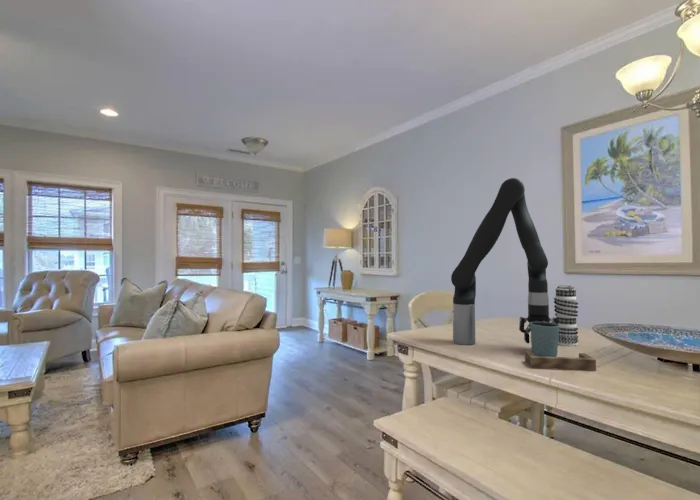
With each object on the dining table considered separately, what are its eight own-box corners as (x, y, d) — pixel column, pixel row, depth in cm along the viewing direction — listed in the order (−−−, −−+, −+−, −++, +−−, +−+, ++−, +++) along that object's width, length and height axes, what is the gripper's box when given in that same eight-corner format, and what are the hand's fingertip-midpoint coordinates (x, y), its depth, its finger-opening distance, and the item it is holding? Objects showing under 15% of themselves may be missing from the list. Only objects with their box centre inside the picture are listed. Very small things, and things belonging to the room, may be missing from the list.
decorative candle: (550, 340, 164) (549, 284, 165) (571, 340, 164) (570, 284, 164) (561, 346, 155) (560, 286, 156) (583, 345, 155) (582, 286, 155)
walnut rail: (531, 367, 127) (531, 357, 127) (525, 361, 135) (524, 351, 135) (596, 370, 123) (595, 359, 123) (585, 363, 131) (585, 353, 131)
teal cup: (530, 350, 149) (530, 320, 150) (559, 352, 145) (558, 322, 145) (530, 356, 140) (530, 325, 140) (561, 359, 136) (560, 327, 136)
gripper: (522, 304, 148) (523, 345, 148) (560, 304, 145) (561, 346, 145) (517, 301, 155) (517, 340, 155) (553, 302, 153) (554, 341, 153)
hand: (538, 343), depth 150 cm, fingers open, 8 cm apart
